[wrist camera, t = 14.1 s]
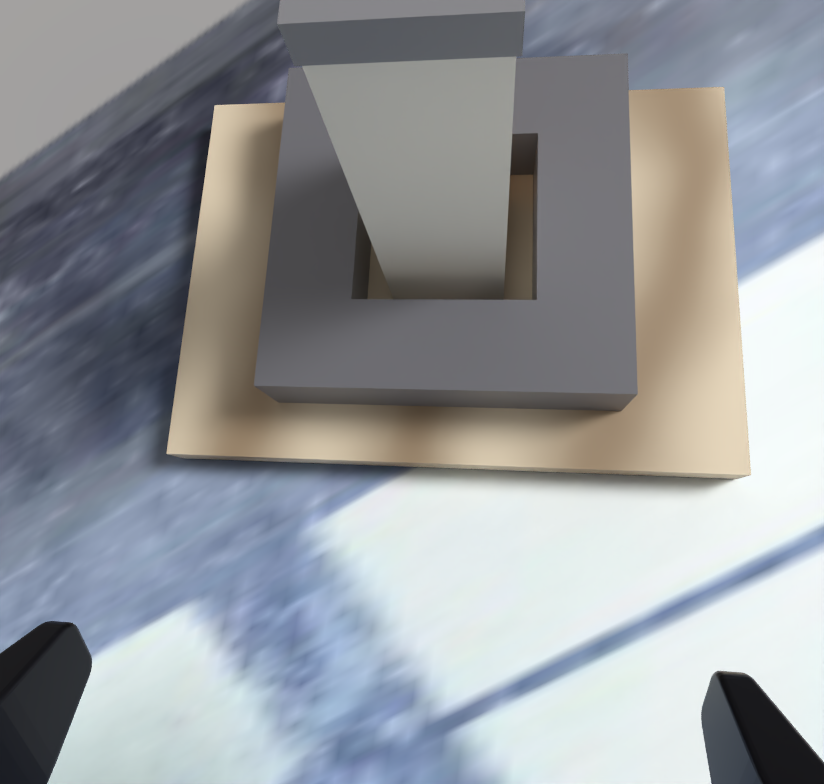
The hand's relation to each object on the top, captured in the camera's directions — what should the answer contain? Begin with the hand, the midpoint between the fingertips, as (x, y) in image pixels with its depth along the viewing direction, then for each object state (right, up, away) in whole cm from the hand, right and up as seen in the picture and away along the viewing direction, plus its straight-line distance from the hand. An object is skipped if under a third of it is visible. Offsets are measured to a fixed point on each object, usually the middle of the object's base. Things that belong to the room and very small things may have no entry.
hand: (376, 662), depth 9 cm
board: (+2, +9, +16) cm, 18 cm away
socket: (+2, +9, +15) cm, 17 cm away
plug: (+2, +9, +15) cm, 18 cm away
